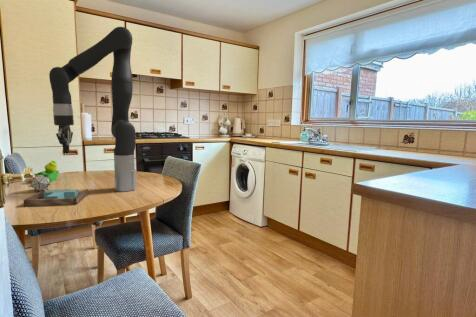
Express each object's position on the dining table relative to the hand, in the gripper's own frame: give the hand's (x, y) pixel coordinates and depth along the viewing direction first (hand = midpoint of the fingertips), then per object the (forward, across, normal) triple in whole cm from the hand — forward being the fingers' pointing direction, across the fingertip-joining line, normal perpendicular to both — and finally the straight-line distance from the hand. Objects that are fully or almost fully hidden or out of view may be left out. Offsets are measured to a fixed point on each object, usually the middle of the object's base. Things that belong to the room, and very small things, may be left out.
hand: (66, 153), depth 129 cm
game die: (+19, +6, +14) cm, 24 cm away
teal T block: (+18, -11, +1) cm, 22 cm away
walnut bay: (+18, -11, 0) cm, 22 cm away
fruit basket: (+19, +27, +19) cm, 38 cm away
